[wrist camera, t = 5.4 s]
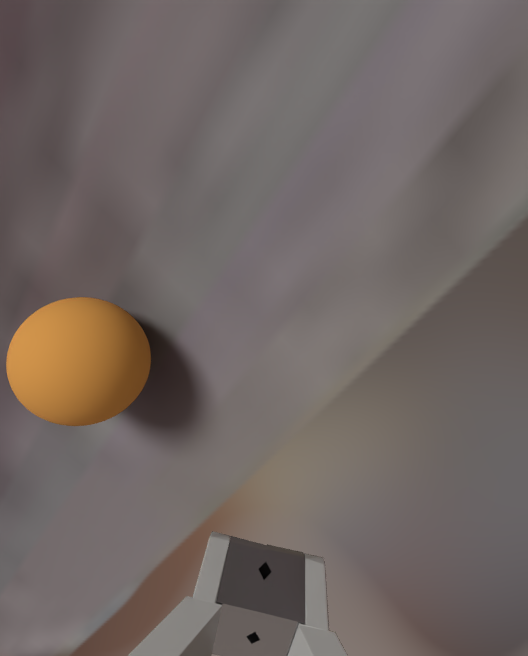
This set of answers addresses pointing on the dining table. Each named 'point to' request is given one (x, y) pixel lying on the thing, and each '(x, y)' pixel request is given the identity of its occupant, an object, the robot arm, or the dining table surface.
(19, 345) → the ball
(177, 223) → the dining table surface
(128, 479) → the dining table surface
